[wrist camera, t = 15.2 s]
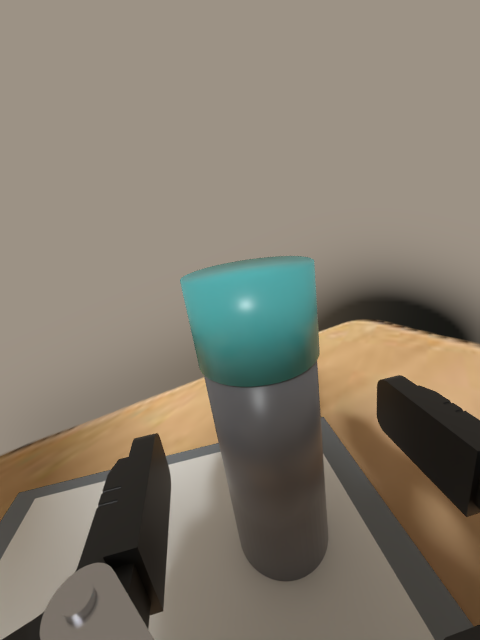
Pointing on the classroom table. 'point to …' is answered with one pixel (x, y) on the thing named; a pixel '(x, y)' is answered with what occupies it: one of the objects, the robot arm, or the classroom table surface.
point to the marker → (265, 404)
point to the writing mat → (239, 561)
